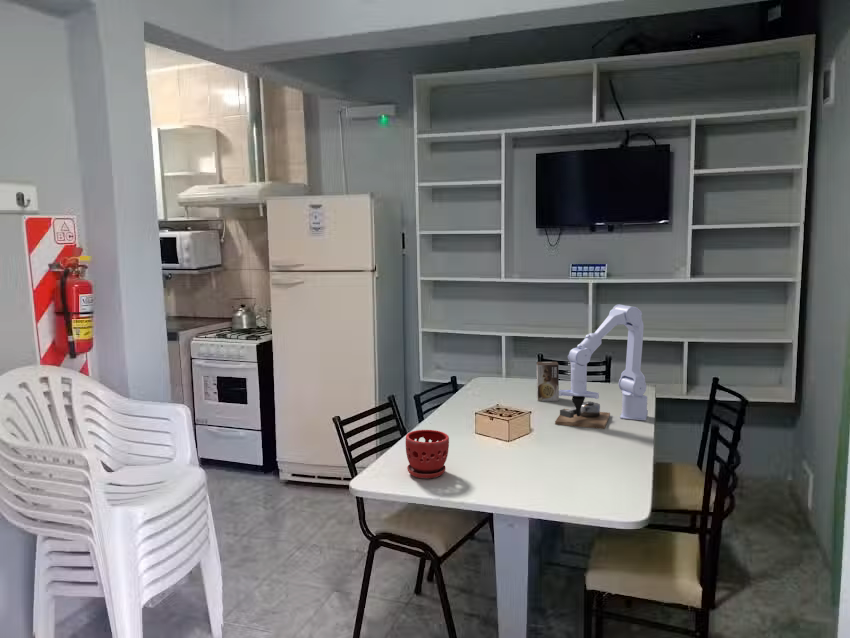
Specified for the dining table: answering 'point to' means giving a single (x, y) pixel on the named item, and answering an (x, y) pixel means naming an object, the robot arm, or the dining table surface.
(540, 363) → the brown rectangular box
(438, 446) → the plant pot
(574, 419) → the board
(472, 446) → the dining table surface
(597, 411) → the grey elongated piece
